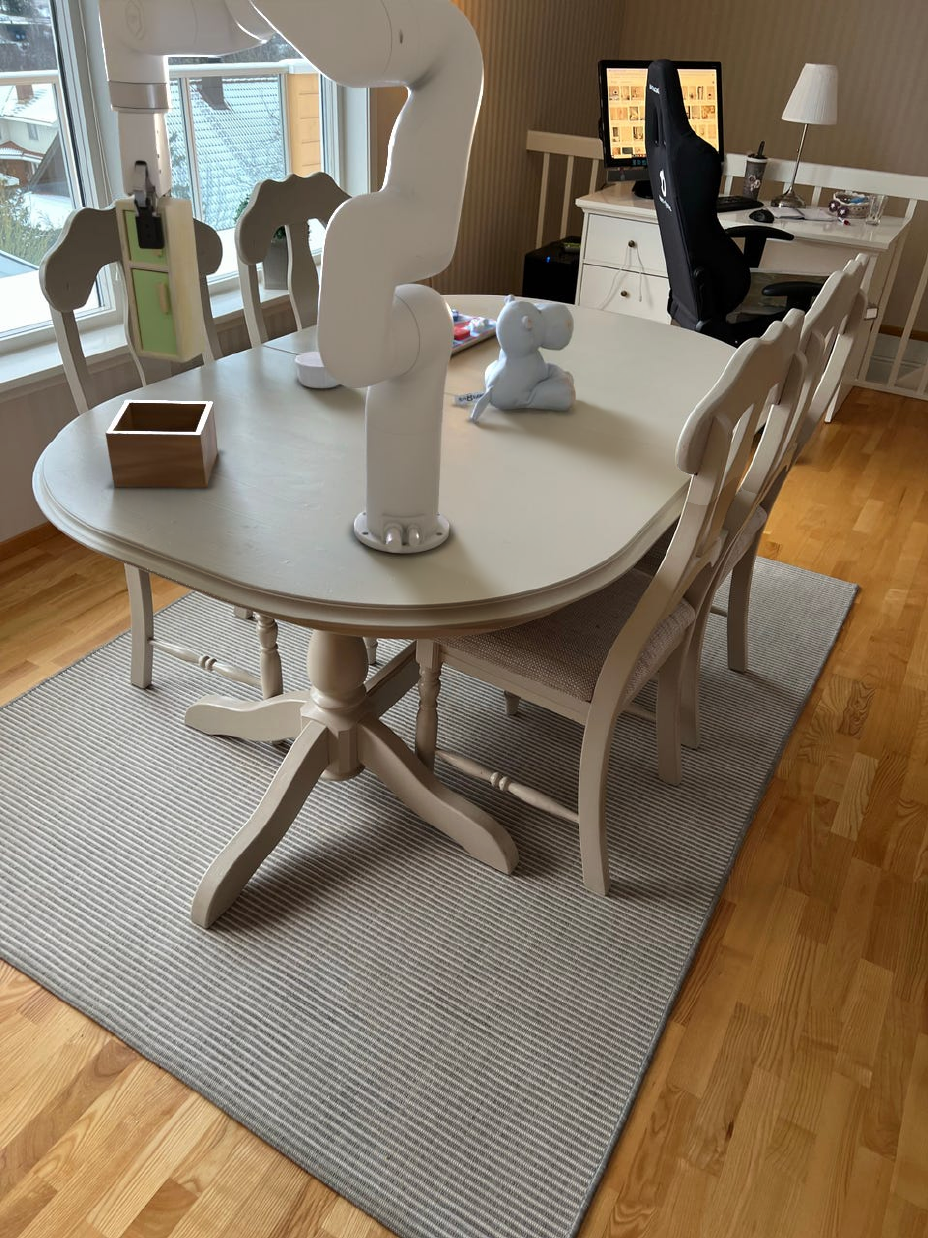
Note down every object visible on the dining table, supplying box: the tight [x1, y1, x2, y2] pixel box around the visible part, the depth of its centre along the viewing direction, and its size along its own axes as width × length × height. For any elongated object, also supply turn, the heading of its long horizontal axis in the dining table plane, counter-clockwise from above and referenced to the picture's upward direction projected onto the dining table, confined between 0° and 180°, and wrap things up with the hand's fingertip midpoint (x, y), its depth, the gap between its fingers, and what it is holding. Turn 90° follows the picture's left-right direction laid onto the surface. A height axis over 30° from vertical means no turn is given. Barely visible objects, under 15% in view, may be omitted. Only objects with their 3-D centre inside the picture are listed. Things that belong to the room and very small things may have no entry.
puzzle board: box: [450, 309, 497, 356], centre depth 198 cm, size 30×23×3 cm
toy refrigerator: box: [114, 195, 207, 364], centre depth 132 cm, size 8×7×21 cm
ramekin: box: [294, 351, 341, 389], centre depth 170 cm, size 9×9×4 cm
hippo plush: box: [454, 294, 577, 422], centre depth 164 cm, size 18×23×18 cm
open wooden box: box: [105, 399, 219, 489], centre depth 135 cm, size 13×13×8 cm
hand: (158, 240), depth 129 cm, fingers closed on toy refrigerator, 8 cm apart
